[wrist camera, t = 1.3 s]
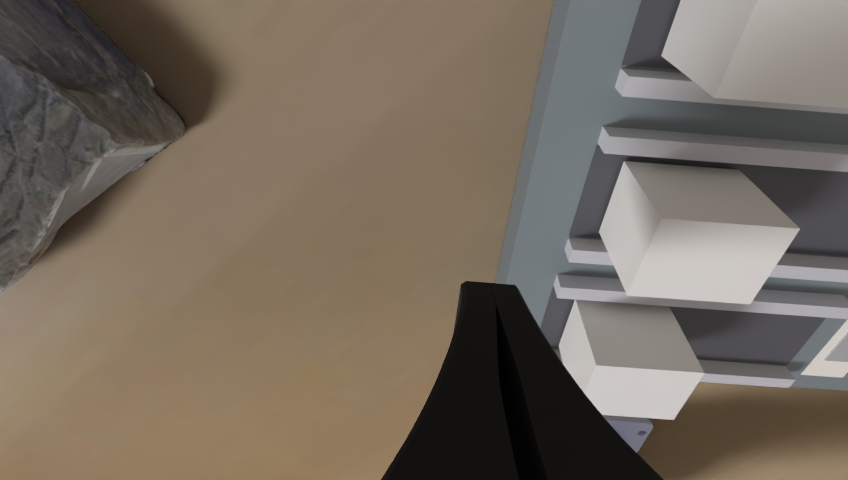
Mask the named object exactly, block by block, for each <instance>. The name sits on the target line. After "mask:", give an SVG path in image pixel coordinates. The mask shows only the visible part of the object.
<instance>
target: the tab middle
mask: <svg viewBox="0 0 848 480" xmlns="http://www.w3.org/2000/svg"><path fill="white" fill-rule="evenodd" d="M799 230H800V228H799V227H798V226H797V225H796V224H795V223H794V222H793V221H792V220H791V219H790V218H789V217H788V216H787V215H786V214H785V213H783V212H782V211H781V210H780V209H779V208H778V207H777V206H776V205H775V204H774V203H773V202H772V201H771V200H770V199H769V198H768V197H767V196H766V195H765V194H764V193H763V192H762V191H761V190H760V189H759V188H758V187H757V186H756V185H755V184H754V183H752V182H751V181H750V180H749V179H748V178H747V177H746V176H745V175H744V174H743V173H742V172H741V171H740V170H735V169H722V168H709V167H696V166H683V165H670V164H656V163H643V162H630V161H624V162H623V165H622V168H621V171H620V173H619V176H618V179H617V182H616V185H615V187H614V190H613V193H612V196H611V199H610V202H609V204H608V207H607V210H606V213H605V216H604V219H603V221H602V224H601V227H600V230H599V233H600V236H601V238H602V240H603V242H604V245H605V247H606V249H607V251H608V254H609V256H610V258H611V260H612V263H613V265H614V267H615V269H616V272H617V274H618V276H619V278H620V281H621V283H622V285H623V287H624V290H625V292H626V294H627V296H641V297H654V298H668V299H682V300H696V301H710V302H723V303H737V304H751V302H752V301H753V299H754V298H755V296H756V295H757V293H758V292H759V290H760V289H761V287H762V286H763V284H764V283H765V281H766V280H767V278H768V277H769V275H770V274H771V272H772V271H773V269H774V268H775V266H776V265H777V263H778V262H779V260H780V259H781V257H782V256H783V254H784V253H785V251H786V250H787V248H788V247H789V245H790V244H791V242H792V241H793V239H794V238H795V236H796V235H797V233H798V232H799Z"/></svg>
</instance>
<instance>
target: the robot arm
mask: <svg viewBox="0 0 848 480" xmlns="http://www.w3.org/2000/svg"><path fill="white" fill-rule="evenodd" d="M652 429H653V425H652V422H651V420H649V419H646V418H634V417H619V416H605V415H602V414H601V413H600V412H599V411H598V410H597V408H596V407H595V406H594V405H593V404H592V402H591V401H590V400H589V398H588V397H587V396H586V395H585V393H584V392H583V391H582V389H581V388H580V387H579V386H578V384H577V383H576V381H575V380H574V379H573V377H572V376H571V374H570V373H569V372H568V370H567V369H566V368H565V366H564V365H563V363H562V362H561V360H560V359H559V357H558V356H557V354H556V353H555V351H554V350H553V348H552V346H551V345H550V343H549V342H548V340H547V339H546V337H545V335H544V334H543V332H542V331H541V329H540V327H539V326H538V324H537V322H536V320H535V319H534V317H533V315H532V313H531V312H530V310H529V308H528V306H527V304H526V302H525V300H524V299H523V297H522V295H521V293H520V291H519V289H518V288H517V286H516V285H511V284H497V283H484V282H470V281H466V282H464V283H463V284H461V289H460V295H459V302H458V308H457V315H456V321H455V328H454V334H453V337H452V341H451V344H450V347H449V350H448V352H447V355H446V357H445V360H444V362H443V365H442V368H441V370H440V373H439V375H438V377H437V380H436V382H435V384H434V386H433V389H432V391H431V393H430V395H429V397H428V399H427V401H426V403H425V405H424V407H423V409H422V411H421V413H420V415H419V417H418V419H417V421H416V422H415V424H414V426H413V428H412V430H411V432H410V433H409V435H408V437H407V439H406V440H405V442H404V444H403V445H402V447H401V449H400V450H399V452H398V453H397V455H396V457H395V458H394V460H393V462H392V463H391V465H390V466H389V468H388V470H387V471H386V473H385V474H384V476H383V477H382V479H381V480H663V479H662V478H661V477H660V476H659V475H658V474H657V473H656V472H655V471H654V470H653V469H652V468H651V467H650V466H649V465H648V464H647V463H646V462H645V461H644V460H643V459H642V458H641V457H640V456H639V455H638V454H637V453H638V451H639V449H640V448H641V446H642V445H643V443H644V441H645V440H646V438H647V437H648V435H649V434H650V432H651V430H652Z"/></svg>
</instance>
